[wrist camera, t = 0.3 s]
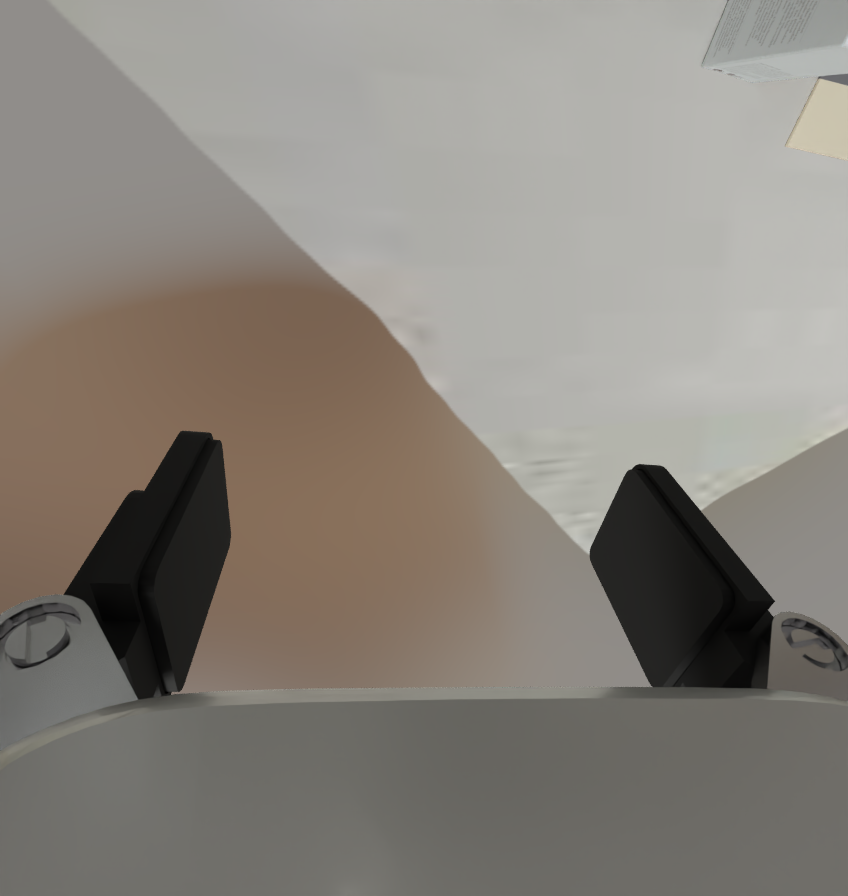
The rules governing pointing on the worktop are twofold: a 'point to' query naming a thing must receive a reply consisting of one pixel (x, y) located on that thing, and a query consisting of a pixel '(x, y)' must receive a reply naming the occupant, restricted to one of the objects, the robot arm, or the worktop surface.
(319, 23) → the worktop surface
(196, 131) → the worktop surface
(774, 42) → the skincare box
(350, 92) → the worktop surface
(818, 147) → the mat
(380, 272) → the worktop surface
